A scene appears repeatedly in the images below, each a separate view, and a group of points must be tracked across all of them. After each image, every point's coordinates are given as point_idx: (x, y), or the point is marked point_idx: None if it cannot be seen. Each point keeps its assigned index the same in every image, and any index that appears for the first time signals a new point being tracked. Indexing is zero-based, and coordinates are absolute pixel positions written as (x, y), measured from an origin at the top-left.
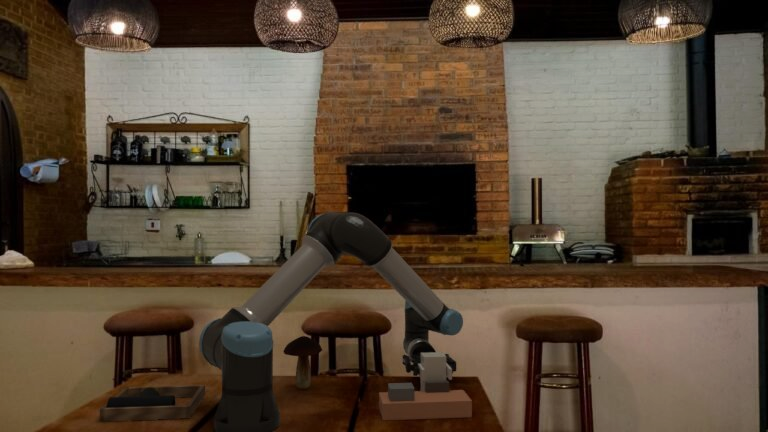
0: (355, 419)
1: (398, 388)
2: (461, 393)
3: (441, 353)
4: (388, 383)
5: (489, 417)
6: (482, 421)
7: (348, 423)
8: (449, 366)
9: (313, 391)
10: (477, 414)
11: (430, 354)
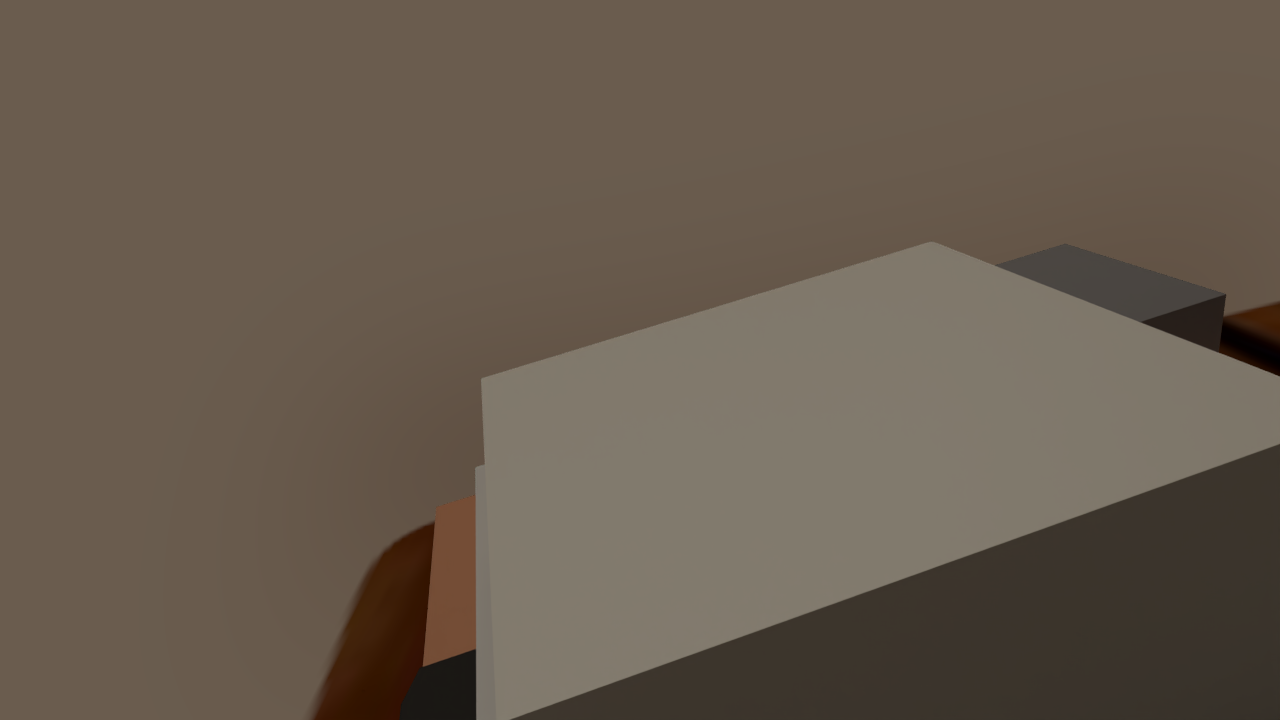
0: (1276, 368)
1: (1009, 266)
2: (473, 637)
3: (557, 545)
4: (1217, 294)
5: (352, 634)
6: (430, 562)
7: (1250, 328)
8: (482, 566)
9: None
10: (418, 667)
11: (879, 376)
